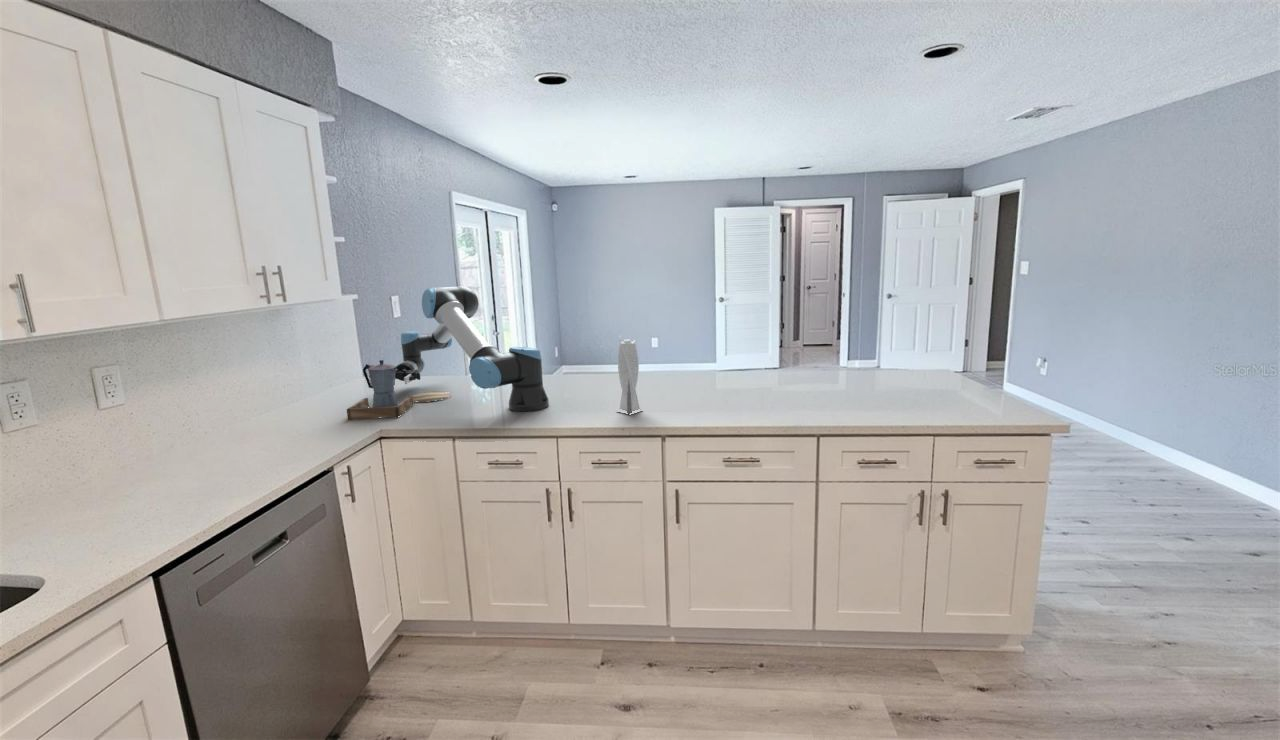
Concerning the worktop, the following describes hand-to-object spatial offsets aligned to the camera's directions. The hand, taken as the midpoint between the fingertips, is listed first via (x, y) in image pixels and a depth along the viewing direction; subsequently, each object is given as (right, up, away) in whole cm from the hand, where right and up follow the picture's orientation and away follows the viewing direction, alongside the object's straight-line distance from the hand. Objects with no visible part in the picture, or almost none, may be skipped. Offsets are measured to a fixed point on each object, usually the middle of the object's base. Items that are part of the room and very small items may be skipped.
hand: (387, 381), depth 224 cm
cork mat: (+12, -7, +13) cm, 19 cm away
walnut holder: (+1, -12, -8) cm, 14 cm away
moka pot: (+1, -11, -5) cm, 13 cm away
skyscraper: (+96, -11, -16) cm, 98 cm away
